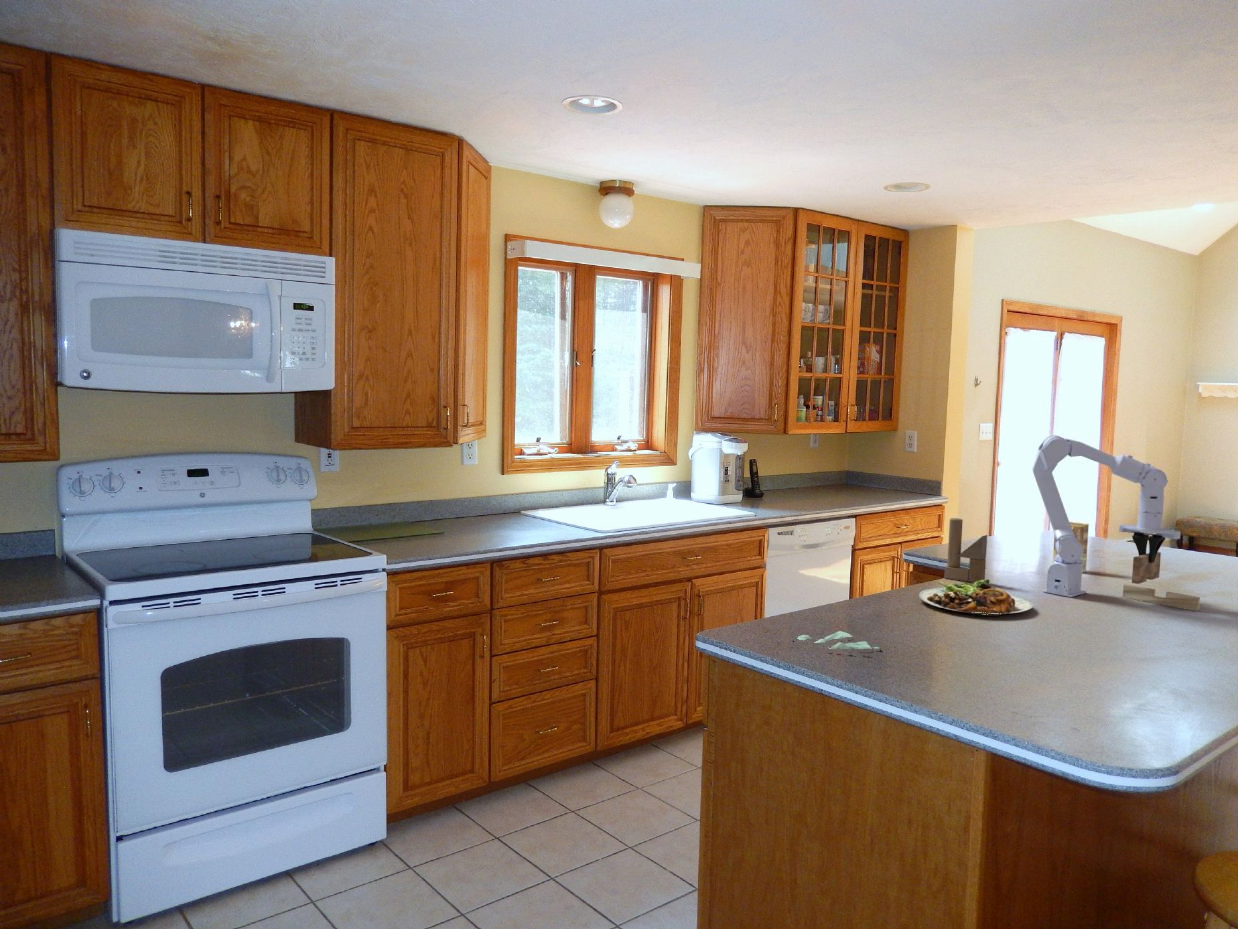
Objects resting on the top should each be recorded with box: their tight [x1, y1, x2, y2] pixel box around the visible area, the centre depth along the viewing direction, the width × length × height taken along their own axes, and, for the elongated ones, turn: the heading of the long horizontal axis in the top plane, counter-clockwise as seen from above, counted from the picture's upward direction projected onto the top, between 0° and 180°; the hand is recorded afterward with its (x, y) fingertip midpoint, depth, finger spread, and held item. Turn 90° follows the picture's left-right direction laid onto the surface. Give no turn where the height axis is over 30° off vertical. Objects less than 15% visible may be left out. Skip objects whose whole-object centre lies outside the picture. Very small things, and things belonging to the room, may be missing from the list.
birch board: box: [1122, 583, 1201, 612], centre depth 237 cm, size 2×18×4 cm, turn 38°
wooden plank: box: [1131, 551, 1162, 585], centre depth 241 cm, size 14×2×7 cm, turn 129°
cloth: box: [797, 630, 881, 649], centre depth 194 cm, size 20×22×2 cm
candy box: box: [1052, 521, 1090, 574], centre depth 279 cm, size 9×4×15 cm, turn 44°
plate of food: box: [918, 578, 1034, 616], centre depth 232 cm, size 28×28×6 cm
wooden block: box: [944, 517, 988, 584], centre depth 261 cm, size 4×11×18 cm, turn 47°
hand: (1147, 561), depth 241 cm, fingers closed on wooden plank, 2 cm apart
